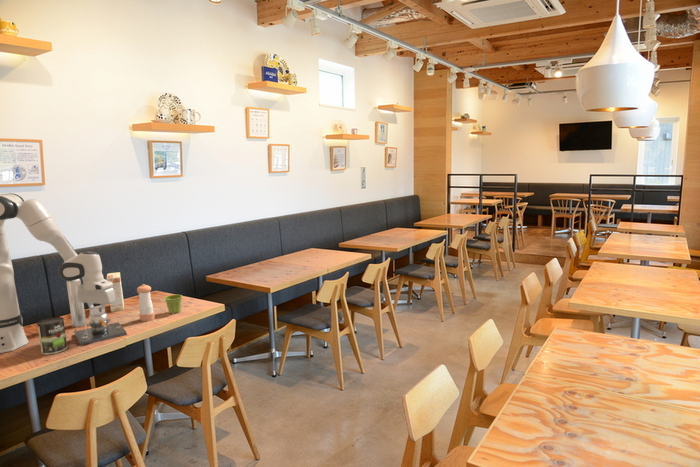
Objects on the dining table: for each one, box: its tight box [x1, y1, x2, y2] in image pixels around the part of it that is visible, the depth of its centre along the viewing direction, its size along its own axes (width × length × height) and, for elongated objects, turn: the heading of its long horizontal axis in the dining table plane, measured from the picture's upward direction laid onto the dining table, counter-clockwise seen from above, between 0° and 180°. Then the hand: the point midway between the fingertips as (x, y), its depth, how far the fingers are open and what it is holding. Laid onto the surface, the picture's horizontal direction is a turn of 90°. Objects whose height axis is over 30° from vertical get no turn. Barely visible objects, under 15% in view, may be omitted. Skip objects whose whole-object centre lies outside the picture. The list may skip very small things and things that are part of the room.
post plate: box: [74, 321, 128, 346], centre depth 234 cm, size 20×19×5 cm
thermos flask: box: [66, 278, 88, 328], centre depth 248 cm, size 6×6×25 cm
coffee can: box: [36, 316, 68, 356], centre depth 215 cm, size 10×10×14 cm
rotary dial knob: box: [86, 304, 111, 328], centre depth 231 cm, size 14×10×9 cm
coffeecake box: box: [106, 271, 125, 313], centre depth 277 cm, size 15×7×20 cm, turn 25°
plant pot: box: [163, 294, 183, 314], centre depth 264 cm, size 9×9×9 cm
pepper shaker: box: [136, 283, 156, 322], centre depth 253 cm, size 7×7×19 cm
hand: (98, 311), depth 233 cm, fingers closed on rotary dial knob, 4 cm apart
